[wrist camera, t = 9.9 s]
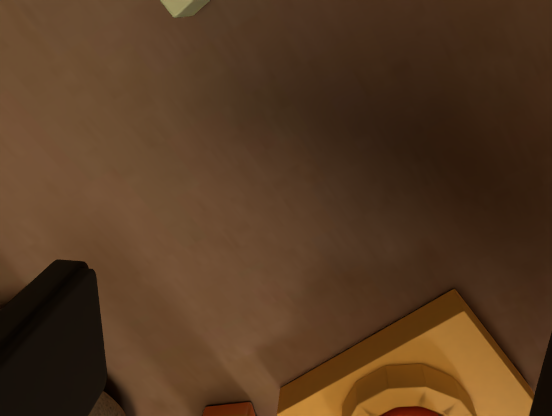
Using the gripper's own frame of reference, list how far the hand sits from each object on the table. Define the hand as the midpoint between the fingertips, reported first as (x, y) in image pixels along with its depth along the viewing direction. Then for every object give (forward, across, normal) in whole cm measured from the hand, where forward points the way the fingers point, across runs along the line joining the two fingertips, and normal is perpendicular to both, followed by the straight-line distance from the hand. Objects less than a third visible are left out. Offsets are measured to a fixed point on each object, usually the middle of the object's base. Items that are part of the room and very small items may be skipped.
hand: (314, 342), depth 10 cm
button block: (+16, -5, +14) cm, 22 cm away
